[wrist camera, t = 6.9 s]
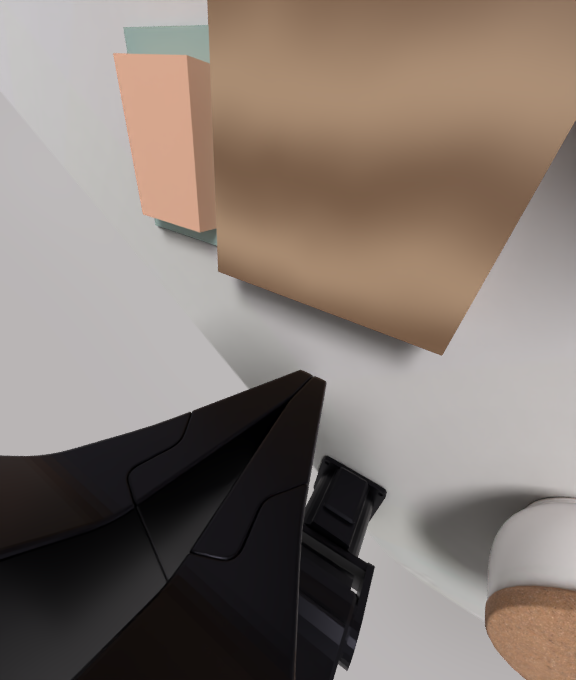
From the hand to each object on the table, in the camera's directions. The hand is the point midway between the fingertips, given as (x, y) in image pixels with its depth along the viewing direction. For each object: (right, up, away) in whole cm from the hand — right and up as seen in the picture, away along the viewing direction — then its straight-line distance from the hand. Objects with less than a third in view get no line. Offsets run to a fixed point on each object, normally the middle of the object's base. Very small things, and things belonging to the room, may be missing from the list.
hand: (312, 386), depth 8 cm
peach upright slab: (-9, +14, +10) cm, 19 cm away
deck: (+3, +10, +7) cm, 13 cm away
